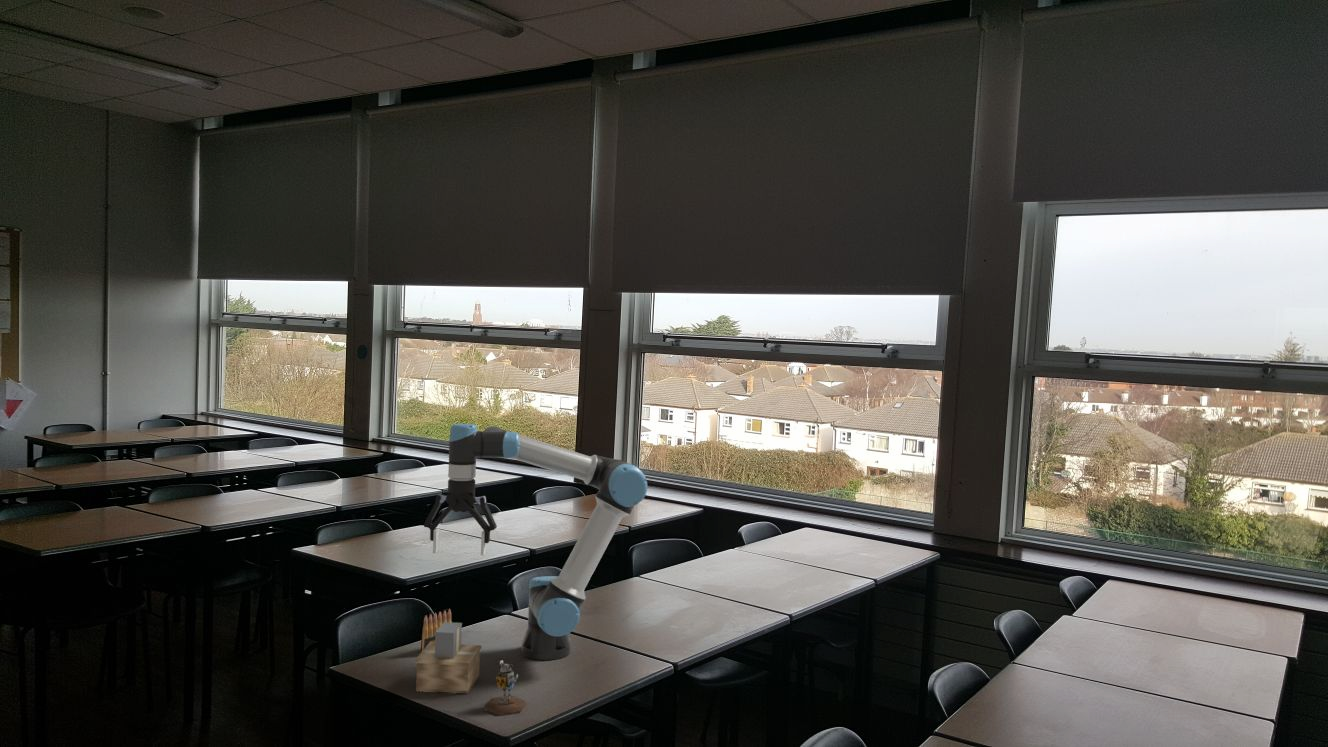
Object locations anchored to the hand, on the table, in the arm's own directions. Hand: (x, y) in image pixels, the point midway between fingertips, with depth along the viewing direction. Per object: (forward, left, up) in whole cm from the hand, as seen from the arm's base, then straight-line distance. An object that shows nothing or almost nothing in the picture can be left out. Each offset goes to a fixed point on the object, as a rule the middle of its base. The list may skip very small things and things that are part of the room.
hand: (459, 553), depth 241 cm
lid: (0, +7, -27) cm, 28 cm away
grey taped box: (0, +8, -26) cm, 27 cm away
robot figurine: (-19, +20, -35) cm, 44 cm away
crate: (0, +7, -35) cm, 35 cm away
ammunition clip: (+11, -18, -35) cm, 41 cm away
